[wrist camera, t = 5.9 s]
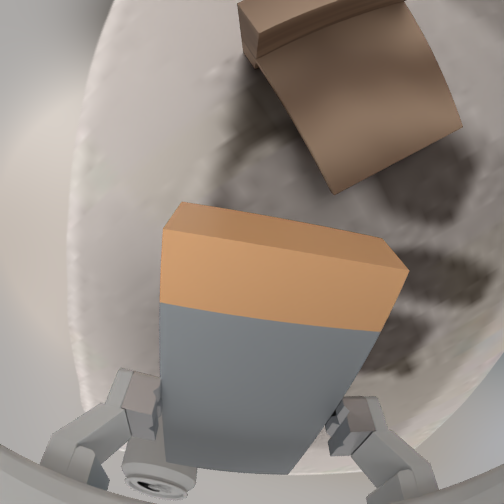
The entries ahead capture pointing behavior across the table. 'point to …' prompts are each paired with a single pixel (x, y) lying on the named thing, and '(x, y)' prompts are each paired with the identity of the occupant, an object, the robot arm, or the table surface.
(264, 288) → the two-tone tall prism
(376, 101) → the tan bookend
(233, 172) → the table surface
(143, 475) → the can
